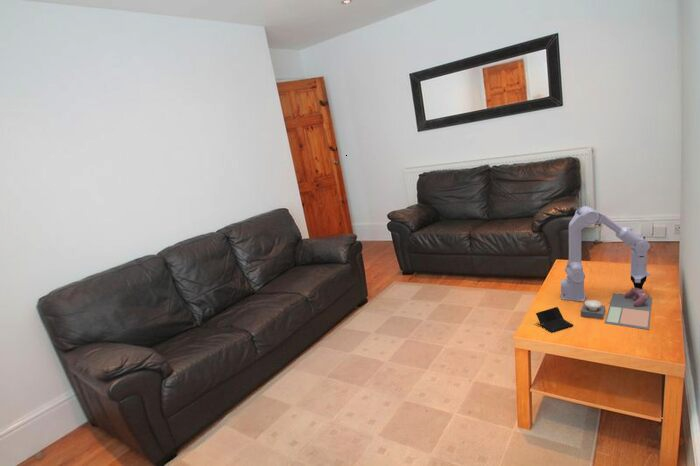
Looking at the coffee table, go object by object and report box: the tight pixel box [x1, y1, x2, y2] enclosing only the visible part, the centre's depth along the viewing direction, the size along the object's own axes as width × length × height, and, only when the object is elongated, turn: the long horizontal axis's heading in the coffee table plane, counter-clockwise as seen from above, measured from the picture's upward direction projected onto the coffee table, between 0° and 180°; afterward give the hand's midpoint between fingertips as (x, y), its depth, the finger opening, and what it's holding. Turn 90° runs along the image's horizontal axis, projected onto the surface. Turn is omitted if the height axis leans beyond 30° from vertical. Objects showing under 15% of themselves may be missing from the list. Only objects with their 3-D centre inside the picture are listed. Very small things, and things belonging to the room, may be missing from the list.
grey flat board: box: [604, 292, 653, 331], centre depth 164 cm, size 14×30×1 cm, turn 141°
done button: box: [584, 299, 602, 311], centre depth 165 cm, size 6×6×4 cm
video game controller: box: [624, 287, 649, 307], centre depth 168 cm, size 10×5×7 cm, turn 168°
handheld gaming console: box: [535, 306, 574, 334], centre depth 163 cm, size 12×7×10 cm
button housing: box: [580, 302, 606, 320], centre depth 166 cm, size 8×8×2 cm
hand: (638, 291), depth 174 cm, fingers closed
